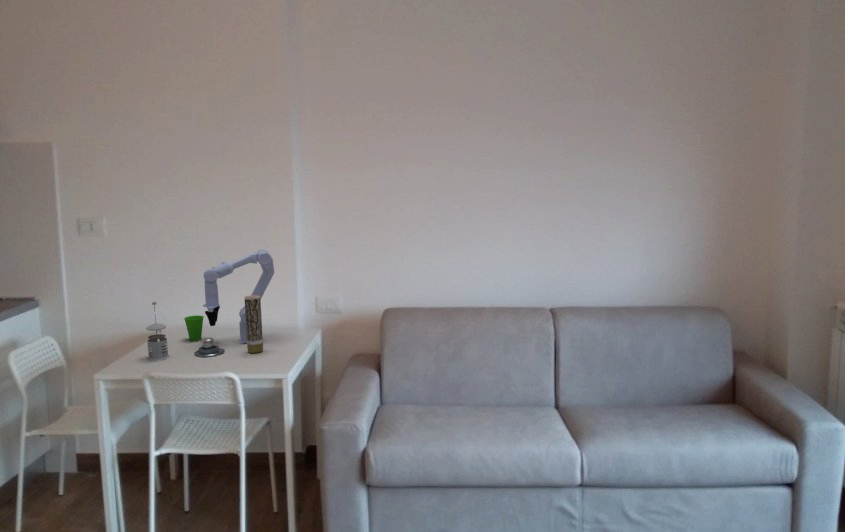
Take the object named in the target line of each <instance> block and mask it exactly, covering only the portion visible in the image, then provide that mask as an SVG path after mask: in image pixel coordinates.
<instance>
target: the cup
mask: <svg viewBox="0 0 845 532" xmlns="http://www.w3.org/2000/svg"><path fill="white" fill-rule="evenodd" d="M204 318H205V316H204V315H196V314H195V315H188V316H186V317H184V318H183V320H184V322H185V325H186V330H187V333H188V334H187V335H188V338H189V341H190V340H191V342H198V340H199V341H201V340H202V334H203V325H204V323H203V322H204ZM200 339H201V340H200Z"/></svg>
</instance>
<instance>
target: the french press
mask: <svg viewBox="0 0 845 532" xmlns="http://www.w3.org/2000/svg"><path fill="white" fill-rule="evenodd" d="M157 303H158V302H156V301H152V302H151V306H152V305H153V308H154V311H156V306H155V305H157ZM154 318H155V319H154V322H155V323H151V324H150V325H148V326H147V327H145V329H146V330H147V331H152V332H153V331H155V332H156V334H151V335H149V336H148V339H147V341H146V342H147V351H148V352H147V353H148V354H147V355H148V357H147V358H146V361H148V360H149V362H157V361H156V360H162V361H164V360H163V359H166V360H168V359H167V358H169V357H170V356H171V354H169V350H168V338H167V337H166V334H163V333H162V330H164V329H166V328H167V325H165V324H164V323H163V324H162V323H159V322H158V323H157V319H156V315H154ZM158 332H160V333H159V334H158ZM158 340H159V341H158ZM170 358H171V357H170ZM170 358H169V359H170ZM150 360H151V361H150Z"/></svg>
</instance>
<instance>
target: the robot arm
mask: <svg viewBox="0 0 845 532" xmlns="http://www.w3.org/2000/svg"><path fill="white" fill-rule="evenodd" d="M258 263H259V265H260V267H261V269H262V273H261V275H260V277H259V279H258V281H257V283H256V285H255V287H254V289H253V291H252V293H251V295H258V296H260V299H261V300H262V297H263V295H264V294H265V292H266V289H267V288H268V286H269V284H270V283H271V281H272V279H273V276H274V274H275V267H274V259H273V257H272V256H271V253H269V252H268V251H267V250H265V249H259V250H257V251H253V252H252V253H249V254H246V255H245V256H243V257H241V258H238V259H236V260H234V261H231V262H229V261H222V262H221V264H218V265H216V266H211V268H208V269H206V270H205V271H204V272H203V279H204V296H205V299H204V300H205V304H203V305H202V307H205V308H207V310H205V311H204V314H205V315H206V317H207V319H208V324H209V326H210V327H215V326H216V323H218V316H219V310H220V308H221V305H220V303H219V289H218V283H217V282H218V279H221V278H224V277H226V276H229V275H231V274H233V272H234V270H235V269H238V268H240V267H243V266H245V265H248V264H256V265H257V264H258ZM238 315H239V317H240V321H239V342H238V343H239V344H247V333H246V316H245V305H244V306H243V307H242V308H241V309H240V310H239V313H238Z"/></svg>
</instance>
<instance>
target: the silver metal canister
mask: <svg viewBox="0 0 845 532" xmlns="http://www.w3.org/2000/svg"><path fill="white" fill-rule="evenodd" d="M201 341H202V346H203V349H205V350H208V349H214V345H215V344H214V341H215V340H214V338H213V337H204V338H202V339H201Z"/></svg>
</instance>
